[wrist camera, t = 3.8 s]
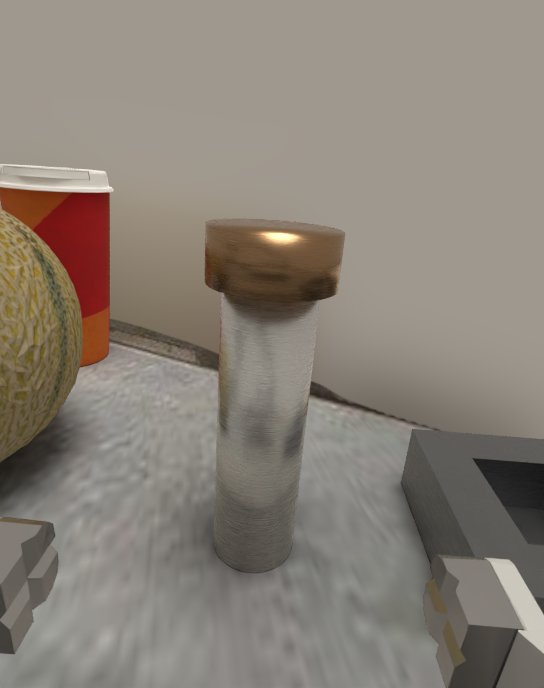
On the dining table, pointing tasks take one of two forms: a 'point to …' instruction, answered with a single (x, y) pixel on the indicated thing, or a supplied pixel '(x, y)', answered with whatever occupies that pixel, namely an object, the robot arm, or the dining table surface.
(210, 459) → the dining table surface
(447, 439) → the block
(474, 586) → the robot arm
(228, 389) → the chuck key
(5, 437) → the cantaloupe
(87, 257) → the coffee cup
